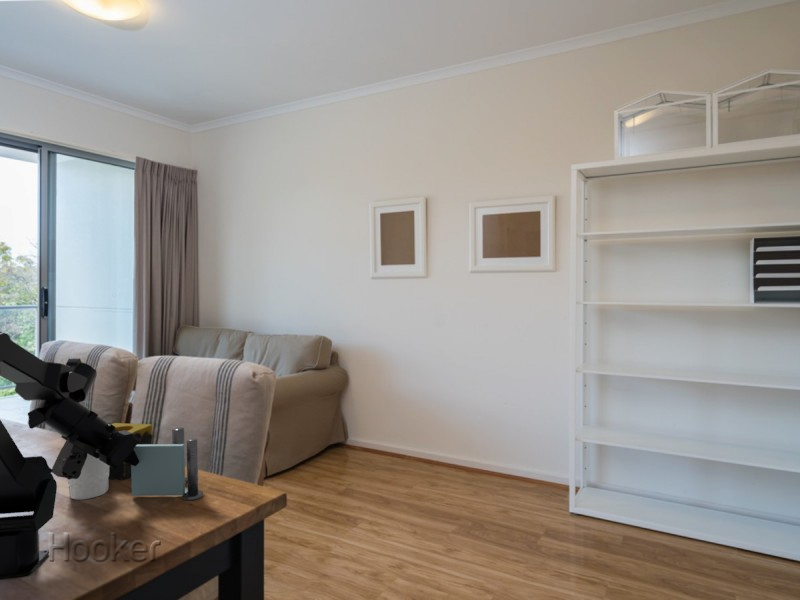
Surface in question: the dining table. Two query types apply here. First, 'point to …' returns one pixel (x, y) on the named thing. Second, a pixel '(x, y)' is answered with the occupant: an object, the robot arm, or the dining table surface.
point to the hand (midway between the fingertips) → (136, 463)
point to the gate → (159, 470)
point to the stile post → (178, 437)
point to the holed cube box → (145, 438)
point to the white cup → (90, 480)
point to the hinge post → (192, 472)
